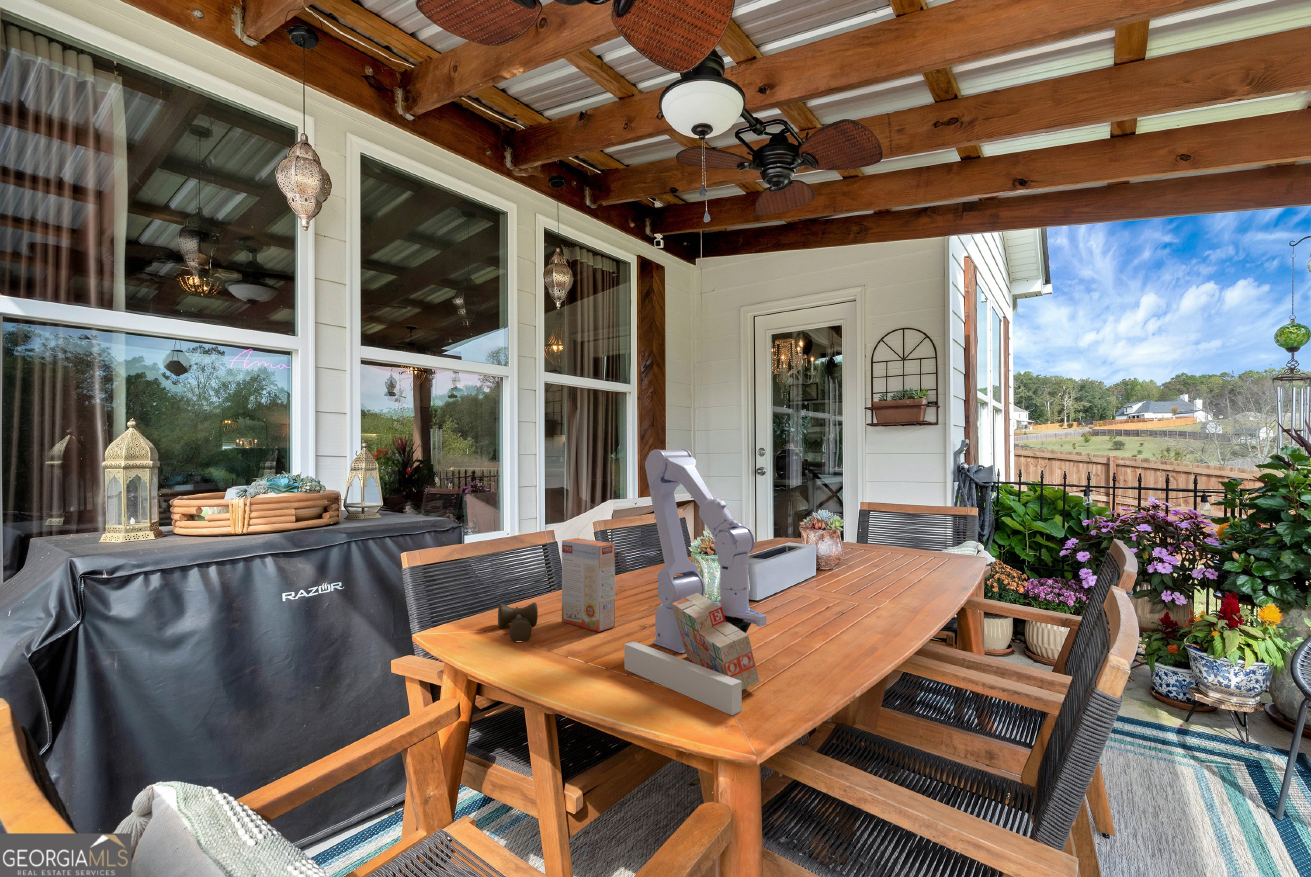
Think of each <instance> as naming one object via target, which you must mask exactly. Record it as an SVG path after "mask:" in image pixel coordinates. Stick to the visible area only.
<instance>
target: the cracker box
mask: <svg viewBox="0 0 1311 877" xmlns="http://www.w3.org/2000/svg"><path fill="white" fill-rule="evenodd" d="M615 561H616V543H613V542H608V541H599V540H594V539H592V540H591V539H586V538H579V537H578V538H577V537H576V538H570V539H564V540H561V622H562V623H567V624H570V625H574V626H578V627H579V628H583V629H587V630H591V631H594V632H597V633H600V632H603V631H606V630H611V629H613V628H615V627H616V562H615Z"/></svg>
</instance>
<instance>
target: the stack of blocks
mask: <svg viewBox="0 0 1311 877" xmlns="http://www.w3.org/2000/svg"><path fill="white" fill-rule="evenodd" d="M714 602H715V601H713V602H712V600H710V599H709V598H708V597H705V596H704V597H703V596H702V595H700V594H698V593H696V594H693V595H691V596H688V597H685V598H683V599H681V600H678V601H676V602H674V603H672V607H673V610H674V613H675V616H676V621H677V624H678V628H679V630H680V634H681V637H682V641H683V646H684V649H685V655H686V657H687V658H688V659H689V660H690V662H691V663H694V664H697V665H699V666H702V667H705V668H707V669H710V670H713V671H716V672H718V673H721V674H724V675H726V676H729V677H732V678H734V679H737V680H740V681H742V691H743V690H745V689H747V688H749V687H751V686H753V685H755V684H758V683H760V678H759V673H758V671H757V667H756V665H757V664H756V662H755V658H754V654H753V651H752V650H753V648H752V644H751V640H750V636H749V634H747V632H746V633H744V632H743V631H741V630H740V629H738V628H737V627H735V626H733V625H732V624H730V623H728V622H726V620H725V616H724V613H723V609H722V607H721V606H720V605H718V604H716V603H714Z"/></svg>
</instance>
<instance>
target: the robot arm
mask: <svg viewBox="0 0 1311 877" xmlns="http://www.w3.org/2000/svg"><path fill="white" fill-rule="evenodd" d="M644 469H645V471H646V472H645V473H646V479H647V483H648V486H649V495H650V498H651V502H652V503H651V504H652V508H653V512H654V513H653V514H654V518H655V524H656V528H657V532H658V537H659V542H660V547H661V552H662V556H663V561H664V565H663V567H662V568H661V569H660V571H659V572H658V573H657V575H656V578H657V596H658V599H659V601H660V604H659V605H658V606H657V609H656V611H655V618H654V619H655V622H654V624H655V626H654V627H655V632H654V633H655V639H654V640H652V643H653V644H654V645H657V646H660V647H662V648H665V649H668V650H671V651H673V652H677V653H680V654H684V653H685V654H686V652H685V649H684V646H683V641H682V637H681V634H680V630H679V628H678V624H677V621H676V616H675V613H674V610H673V607H672V603H674V602H676V601H678V600H681V599H683V598H685V597H688V596H691V595H693V594H696V593H698V594H700V595H702V596H703V597H705V594H706V584H705V581H704V579H703V577H702V576H701V574H700V570H699V567H698V565H696V564H695V563H693V562H692V561H691V560H690V559H689V556H688V552H687V548H686V543H685V539H684V538H685V537H684V534H683V529H682V523H681V519H680V515H679V512H678V511H679V510H678V505H677V501H676V498H675V491H676V490H677V488H678V487H680V485H681V486H683V488H684V489H685V490H686V491H687V493H688V494H689V495H690V497H692V499H693V500H694V502H695V503H696V504H697V505H698V506H699V512H698V514H699V517H700V518H701V520H702V522H703V523H704V525H705V526H706V528H707V529H708V531H709V532H710V533H711V535H712V537H713V538H714V541H713V547H714V550H715V553H716V554H717V562H718V565H719V567H720V568H719V573H720V574H719V576H720V577H719V579H720V580H719V587H720V590H719V598H720V602H718V601H712V600H711V601H712V602H714V603H716V604H718V605H720V606H721V607H722V609H723V613H724V616H725V620H726V622H728V623H730V624H732V625H733V626H735V627H737V628H738V629H740V630H741V631H743V632H744V633H746V634H747V632H748V630H749V629H750V627H751V625H753V624H754V625H755V626H757V627H764V626H766V625H767V614H764V613H761V612H758V611H756V610H754V609H752V608H750V605H749V602H750V601H749V598H750V597H749V596H750V595H749V554H750V553H752V551H753V549H754V547H755V538H754V534H753V532H752V530H751V528H749V527H747V526H745V525H743V524H741V523H740V522H738V521H737V519H736V518H735V517H734V516H733V514H732V513H731V511H729V509H728V507H727V504H726V502H725V501H724V500H722V499H721V498H715V497H713V495H712V493H711V492H710V490H709V488H708V486H707V485H706V483H705V482H704V480H703V478H702V476H701V474H700V473H699V471H698V470H697V460H696V459H695V457H693V455H692V453H691V451H689V449H686V448H682V449H658V448H657V449H656V448H655V449H652V450H651V451H650V452H649V454H648V456H647V458H646V460H645V462H644ZM675 575H678V576H675Z"/></svg>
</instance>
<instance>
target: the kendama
mask: <svg viewBox="0 0 1311 877" xmlns="http://www.w3.org/2000/svg"><path fill="white" fill-rule="evenodd" d="M497 609H498V610H497V626H498V628H499V629H503V628H504V626H505V627H506V626H508V625H509V631H508V632H509V638H510V640H511V641H512V642H514V641H526V642H527V641H529V640H530V638H531V637H532V634H533V627H532V626H537V624H538V616H539V615H538V614H539V612H538V610H539V608H538V604H537V603H536V602H532V603H530V604H528V605H526V606H523V607H518V606H516V607H510V606H508V605H506V604H505V603H501V602H500V603H499V604H498V608H497ZM502 627H503V628H502Z"/></svg>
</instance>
